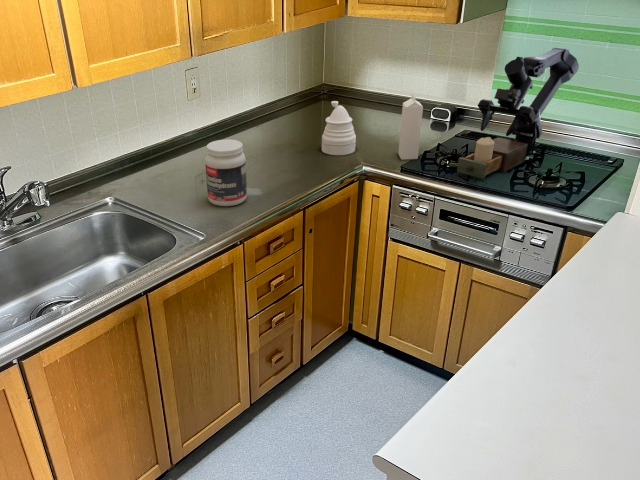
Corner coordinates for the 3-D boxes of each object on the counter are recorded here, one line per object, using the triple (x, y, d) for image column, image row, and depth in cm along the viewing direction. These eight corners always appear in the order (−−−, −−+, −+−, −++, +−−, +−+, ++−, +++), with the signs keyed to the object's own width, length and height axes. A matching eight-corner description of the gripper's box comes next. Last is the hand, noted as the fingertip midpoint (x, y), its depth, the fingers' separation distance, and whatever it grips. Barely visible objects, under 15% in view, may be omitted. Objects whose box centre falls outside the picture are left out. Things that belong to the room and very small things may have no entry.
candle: (483, 163, 215) (488, 134, 210) (493, 168, 211) (498, 139, 205) (469, 165, 214) (473, 136, 209) (479, 170, 210) (483, 141, 204)
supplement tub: (204, 207, 199) (200, 151, 190) (211, 192, 210) (207, 138, 200) (244, 208, 197) (242, 151, 188) (249, 192, 208) (247, 138, 199)
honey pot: (318, 154, 237) (319, 106, 228) (325, 143, 248) (326, 97, 238) (352, 156, 234) (354, 107, 224) (357, 145, 244) (360, 98, 234)
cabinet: (503, 172, 212) (507, 153, 209) (474, 164, 220) (477, 146, 216) (524, 162, 220) (528, 143, 216) (495, 155, 227) (498, 137, 224)
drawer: (481, 179, 205) (483, 165, 203) (454, 172, 212) (456, 159, 209) (503, 168, 213) (505, 155, 210) (477, 162, 219) (479, 148, 217)
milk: (401, 159, 228) (406, 98, 216) (398, 154, 233) (403, 93, 221) (418, 159, 227) (424, 97, 216) (414, 153, 233) (420, 93, 221)
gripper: (484, 74, 209) (461, 115, 210) (538, 82, 197) (513, 125, 197) (494, 93, 218) (471, 132, 218) (546, 102, 205) (522, 143, 205)
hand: (493, 133), depth 209 cm, fingers open, 9 cm apart
